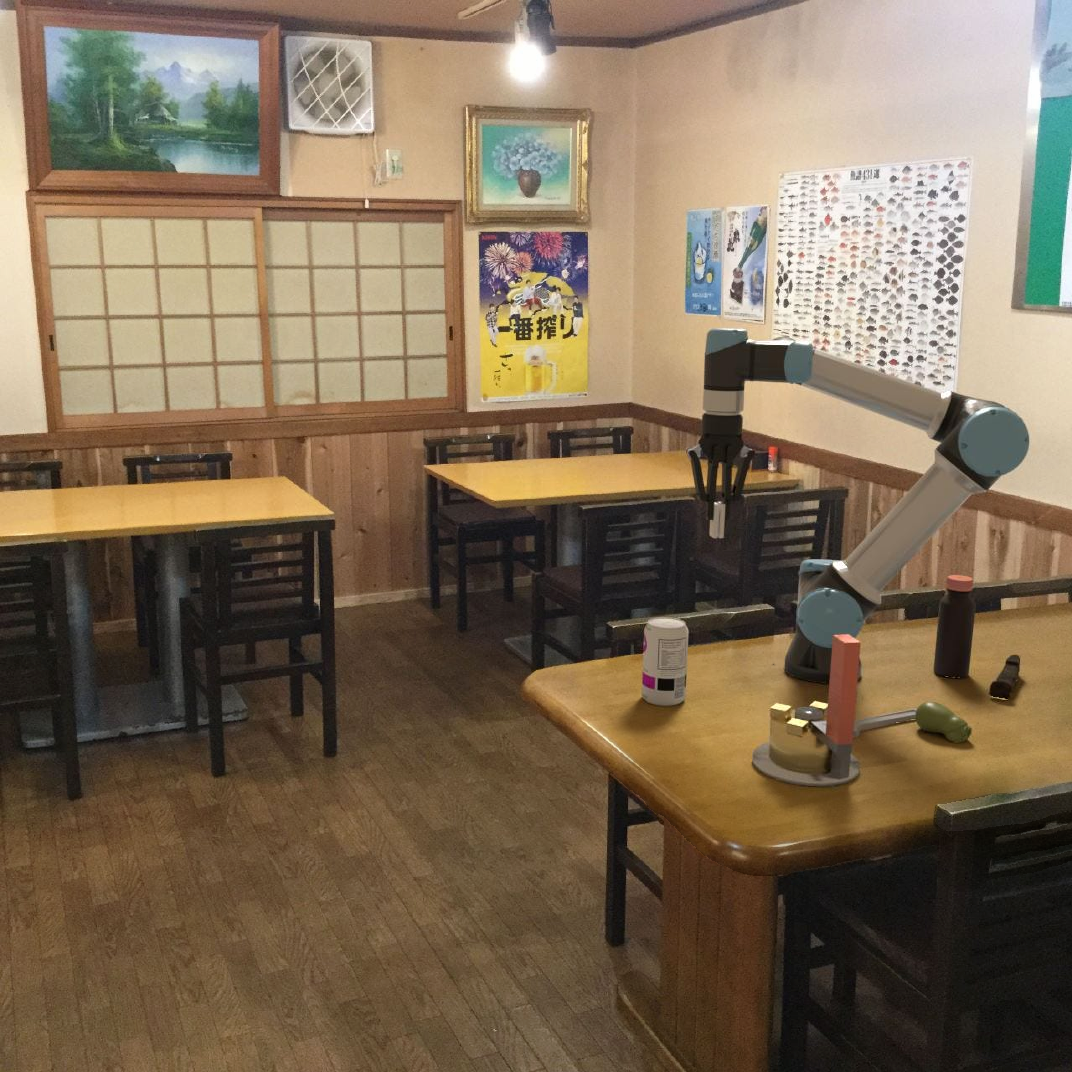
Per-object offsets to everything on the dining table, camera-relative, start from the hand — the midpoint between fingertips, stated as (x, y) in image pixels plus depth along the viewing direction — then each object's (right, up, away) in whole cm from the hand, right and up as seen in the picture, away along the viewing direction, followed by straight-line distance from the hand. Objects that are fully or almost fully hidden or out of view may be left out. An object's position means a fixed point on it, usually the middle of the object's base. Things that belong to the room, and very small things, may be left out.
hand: (716, 536), depth 223 cm
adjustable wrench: (+26, -34, -14) cm, 46 cm away
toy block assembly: (+10, -37, -35) cm, 52 cm away
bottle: (+50, -28, +15) cm, 59 cm away
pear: (+37, -35, -18) cm, 54 cm away
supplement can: (-10, -31, -3) cm, 33 cm away
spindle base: (+10, -37, -32) cm, 50 cm away
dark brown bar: (+58, -30, +8) cm, 66 cm away
